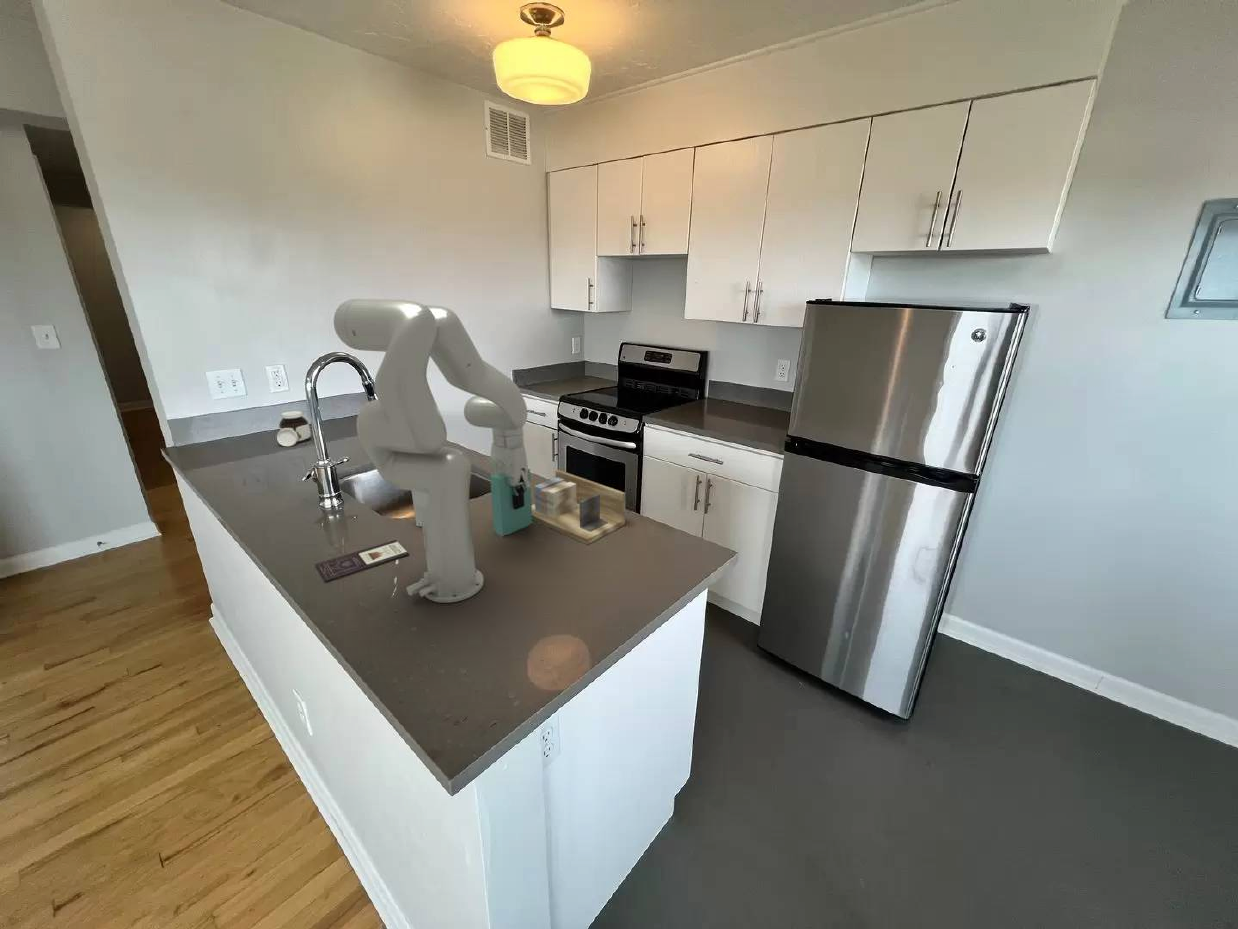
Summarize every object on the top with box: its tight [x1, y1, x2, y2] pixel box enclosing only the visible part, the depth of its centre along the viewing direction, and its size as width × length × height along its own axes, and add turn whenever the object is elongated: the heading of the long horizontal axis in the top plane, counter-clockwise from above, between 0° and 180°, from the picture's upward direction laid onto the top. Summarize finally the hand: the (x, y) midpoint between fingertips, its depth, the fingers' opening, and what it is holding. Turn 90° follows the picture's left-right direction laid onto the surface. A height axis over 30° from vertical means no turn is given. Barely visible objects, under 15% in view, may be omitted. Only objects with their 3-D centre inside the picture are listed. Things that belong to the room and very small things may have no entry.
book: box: [489, 468, 533, 537], centre depth 132 cm, size 10×4×16 cm, turn 140°
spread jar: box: [276, 410, 312, 447], centre depth 198 cm, size 12×11×12 cm
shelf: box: [531, 469, 626, 546], centre depth 138 cm, size 15×26×10 cm, turn 50°
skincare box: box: [411, 491, 429, 527], centre depth 135 cm, size 8×6×15 cm
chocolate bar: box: [315, 539, 410, 584], centre depth 117 cm, size 9×1×18 cm
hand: (512, 504), depth 132 cm, fingers open, 4 cm apart
